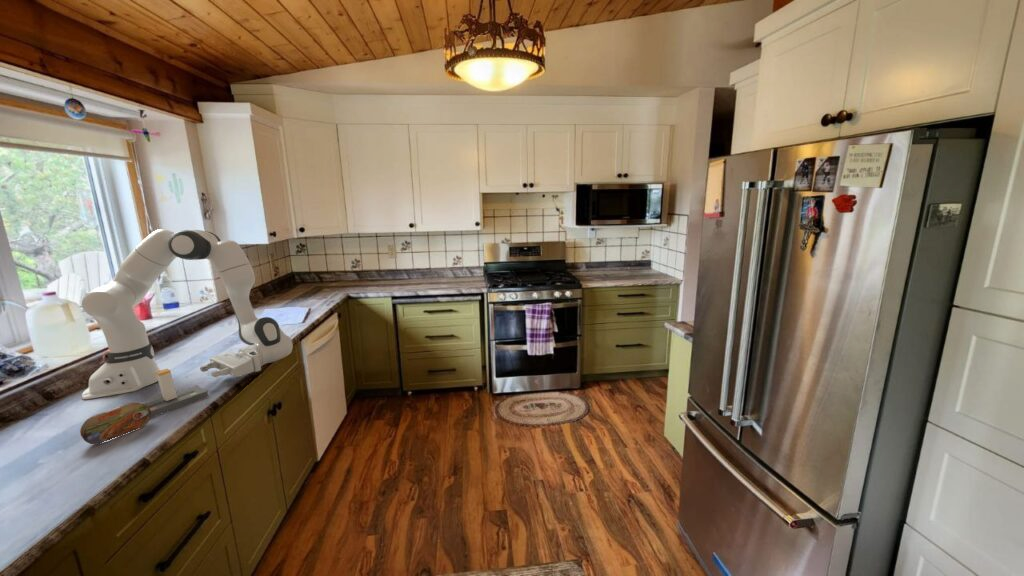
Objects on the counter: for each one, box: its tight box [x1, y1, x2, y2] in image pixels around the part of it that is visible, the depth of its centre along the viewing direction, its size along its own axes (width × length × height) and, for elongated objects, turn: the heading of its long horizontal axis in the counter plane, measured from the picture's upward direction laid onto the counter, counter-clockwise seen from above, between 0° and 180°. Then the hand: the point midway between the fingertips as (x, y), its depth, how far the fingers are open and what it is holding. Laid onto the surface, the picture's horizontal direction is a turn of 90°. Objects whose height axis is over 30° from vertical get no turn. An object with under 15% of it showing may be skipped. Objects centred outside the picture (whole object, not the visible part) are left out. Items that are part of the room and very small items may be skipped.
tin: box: [79, 401, 151, 445], centre depth 119 cm, size 15×3×8 cm, turn 148°
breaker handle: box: [156, 368, 177, 401], centre depth 135 cm, size 3×3×10 cm
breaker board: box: [144, 384, 209, 419], centre depth 136 cm, size 18×9×2 cm, turn 146°
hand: (206, 372), depth 144 cm, fingers open, 8 cm apart
